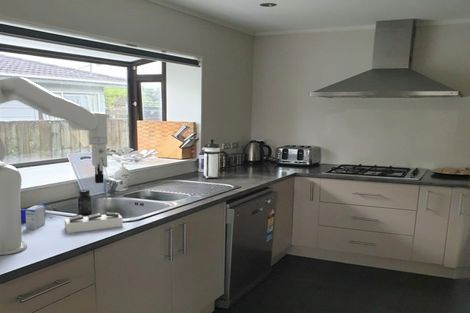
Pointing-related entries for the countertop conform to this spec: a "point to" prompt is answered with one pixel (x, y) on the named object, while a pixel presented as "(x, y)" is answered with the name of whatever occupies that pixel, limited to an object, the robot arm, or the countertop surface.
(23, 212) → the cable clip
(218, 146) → the coffee press
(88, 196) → the supplement bottle
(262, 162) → the countertop surface
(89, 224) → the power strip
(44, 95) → the robot arm
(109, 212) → the rocker outer
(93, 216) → the rocker middle
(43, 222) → the medicine box
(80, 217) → the rocker inner
